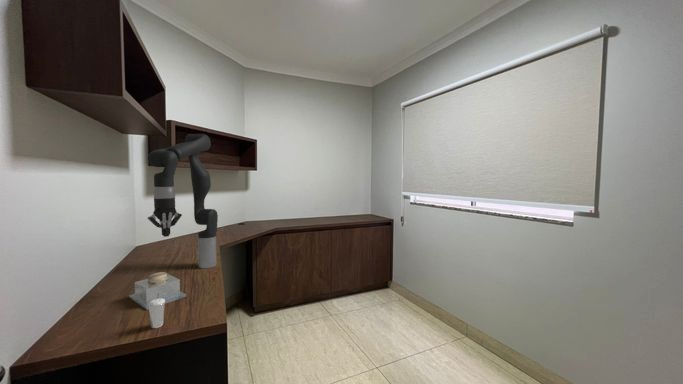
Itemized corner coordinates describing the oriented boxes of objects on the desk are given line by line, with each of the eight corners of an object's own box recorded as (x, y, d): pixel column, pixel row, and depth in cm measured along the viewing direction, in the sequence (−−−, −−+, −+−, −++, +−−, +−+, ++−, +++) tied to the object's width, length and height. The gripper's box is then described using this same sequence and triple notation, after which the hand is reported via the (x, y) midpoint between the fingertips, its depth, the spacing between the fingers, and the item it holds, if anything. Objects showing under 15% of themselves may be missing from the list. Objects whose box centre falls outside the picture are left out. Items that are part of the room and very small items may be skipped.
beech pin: (146, 294, 107) (145, 275, 106) (163, 289, 112) (163, 271, 112) (152, 298, 103) (152, 278, 103) (170, 292, 108) (169, 274, 108)
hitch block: (129, 297, 107) (129, 281, 106) (167, 286, 118) (166, 271, 118) (146, 310, 97) (146, 291, 96) (185, 296, 108) (185, 280, 108)
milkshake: (166, 319, 90) (166, 292, 90) (164, 327, 85) (164, 298, 85) (150, 323, 88) (150, 294, 88) (147, 331, 83) (147, 301, 83)
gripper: (177, 195, 118) (178, 232, 119) (142, 197, 107) (144, 238, 108) (185, 196, 114) (186, 234, 115) (150, 198, 103) (151, 240, 104)
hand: (166, 236), depth 111 cm, fingers closed
